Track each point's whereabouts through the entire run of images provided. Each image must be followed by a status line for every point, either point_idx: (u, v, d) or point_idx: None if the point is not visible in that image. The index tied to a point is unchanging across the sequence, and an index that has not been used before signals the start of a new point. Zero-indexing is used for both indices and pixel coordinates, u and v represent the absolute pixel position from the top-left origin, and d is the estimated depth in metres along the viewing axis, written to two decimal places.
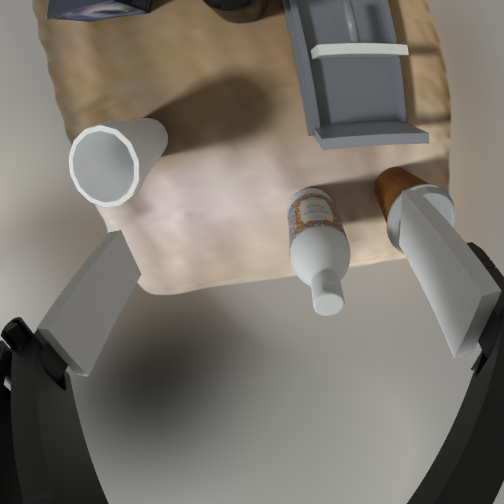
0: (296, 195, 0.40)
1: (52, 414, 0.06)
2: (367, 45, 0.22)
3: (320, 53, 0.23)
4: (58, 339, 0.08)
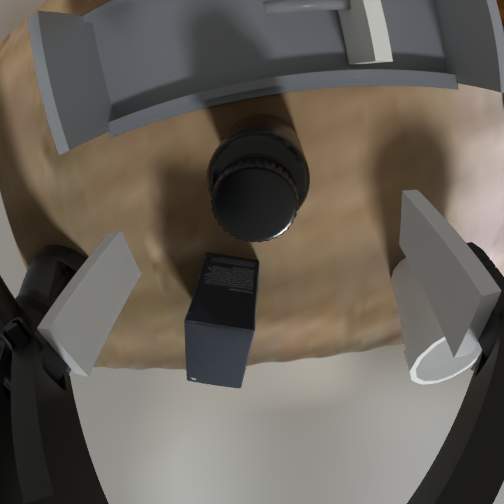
0: None
1: (52, 414, 0.06)
2: None
3: (389, 59, 0.13)
4: (58, 339, 0.08)
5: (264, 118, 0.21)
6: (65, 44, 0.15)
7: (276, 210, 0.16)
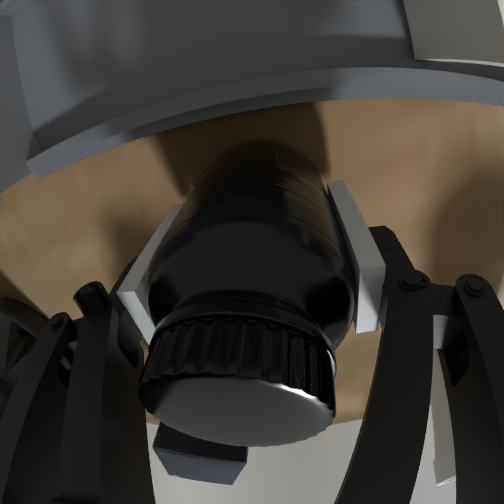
0: None
1: (118, 399, 0.06)
2: None
3: None
4: (142, 303, 0.09)
5: (264, 155, 0.11)
6: None
7: (283, 428, 0.06)
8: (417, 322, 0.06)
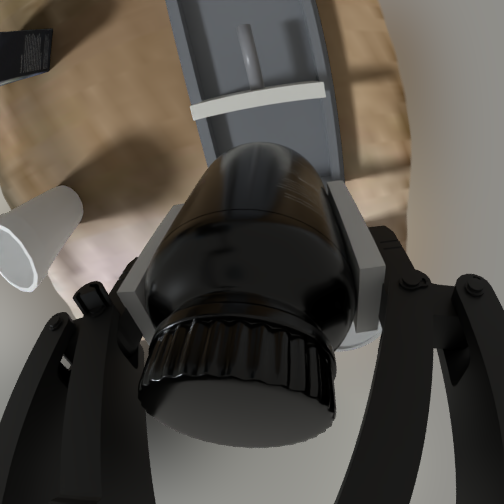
0: None
1: (118, 399, 0.06)
2: (259, 94, 0.19)
3: (194, 117, 0.20)
4: (142, 303, 0.09)
5: (264, 156, 0.11)
6: None
7: (283, 429, 0.06)
8: (417, 322, 0.06)
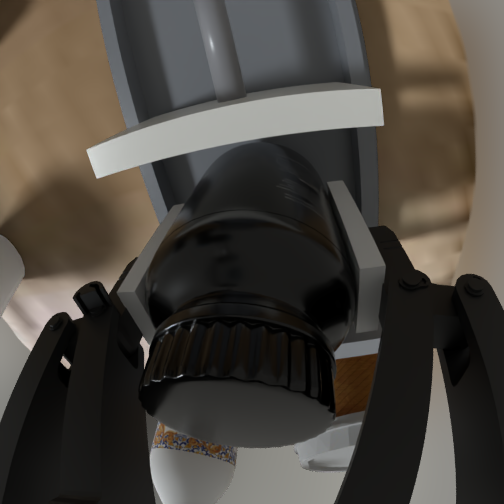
0: None
1: (118, 399, 0.06)
2: (227, 114, 0.08)
3: (97, 173, 0.09)
4: (142, 303, 0.09)
5: (265, 157, 0.11)
6: None
7: (284, 430, 0.06)
8: (417, 322, 0.06)
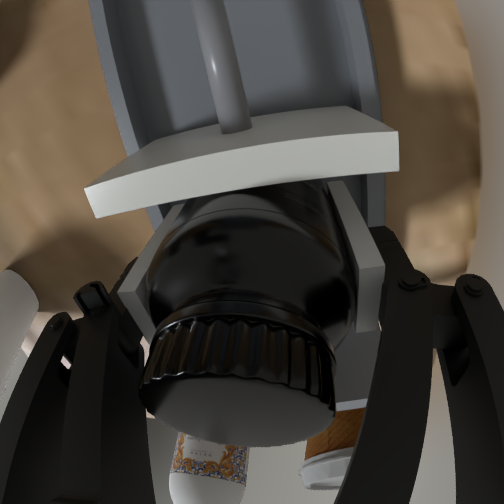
0: None
1: (118, 399, 0.06)
2: (233, 159, 0.08)
3: (96, 213, 0.09)
4: (143, 303, 0.09)
5: None
6: None
7: (284, 428, 0.06)
8: (417, 322, 0.06)
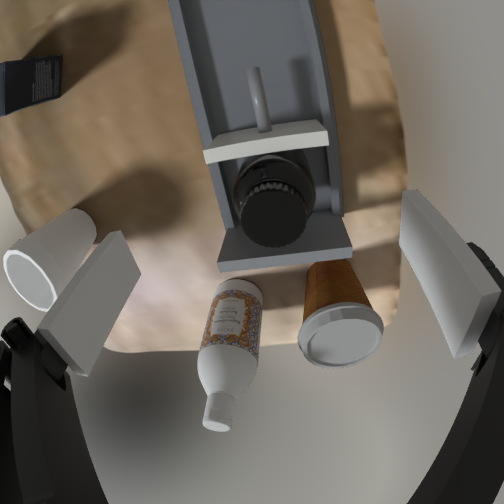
0: (219, 288, 0.39)
1: (52, 414, 0.06)
2: (268, 141, 0.22)
3: (206, 161, 0.23)
4: (58, 339, 0.08)
5: None
6: None
7: (290, 223, 0.20)
8: None
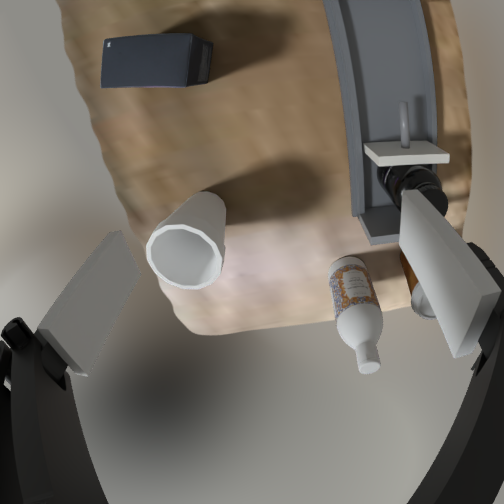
0: (337, 264, 0.47)
1: (52, 414, 0.06)
2: (418, 156, 0.29)
3: (379, 164, 0.30)
4: (58, 339, 0.08)
5: None
6: None
7: (439, 210, 0.27)
8: None
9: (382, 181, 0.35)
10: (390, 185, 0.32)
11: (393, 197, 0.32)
